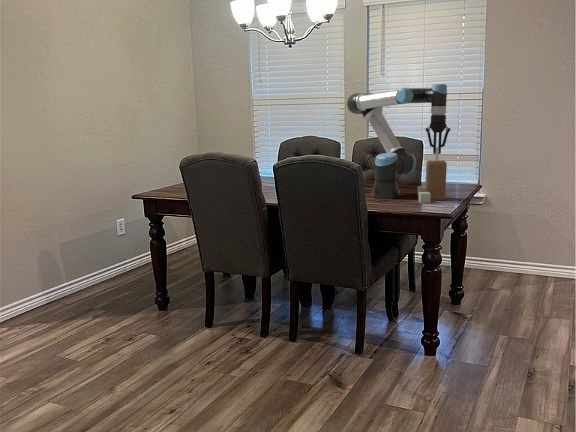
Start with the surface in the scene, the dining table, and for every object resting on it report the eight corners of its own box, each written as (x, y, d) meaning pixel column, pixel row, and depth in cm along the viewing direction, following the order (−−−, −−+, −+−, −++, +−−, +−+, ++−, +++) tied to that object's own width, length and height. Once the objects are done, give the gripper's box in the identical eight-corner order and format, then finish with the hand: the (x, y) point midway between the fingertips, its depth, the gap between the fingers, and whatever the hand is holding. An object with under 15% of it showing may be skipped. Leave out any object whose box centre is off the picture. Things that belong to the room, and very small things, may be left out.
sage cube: (420, 203, 292) (420, 193, 291) (418, 201, 297) (418, 192, 296) (430, 203, 292) (430, 193, 291) (428, 201, 297) (428, 191, 296)
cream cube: (417, 196, 312) (417, 187, 311) (418, 194, 317) (418, 185, 316) (426, 196, 311) (426, 187, 310) (427, 195, 315) (427, 186, 314)
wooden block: (445, 200, 297) (446, 162, 293) (425, 200, 299) (426, 162, 295) (443, 197, 307) (445, 160, 303) (424, 197, 309) (426, 160, 305)
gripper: (425, 114, 291) (424, 160, 296) (452, 114, 289) (450, 161, 294) (425, 114, 299) (423, 159, 303) (450, 114, 296) (448, 159, 301)
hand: (436, 160), depth 299 cm, fingers closed
